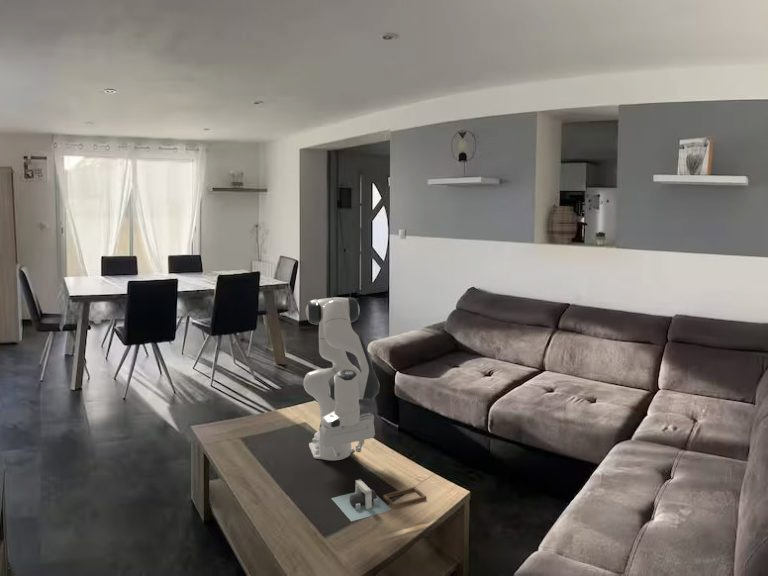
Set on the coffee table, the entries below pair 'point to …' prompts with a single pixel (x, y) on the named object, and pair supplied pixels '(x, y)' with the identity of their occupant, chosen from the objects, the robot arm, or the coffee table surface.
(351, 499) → the dark grey rounded bar
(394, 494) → the tray
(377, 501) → the clip board
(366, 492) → the u-shaped staple bracket
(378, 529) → the coffee table surface
